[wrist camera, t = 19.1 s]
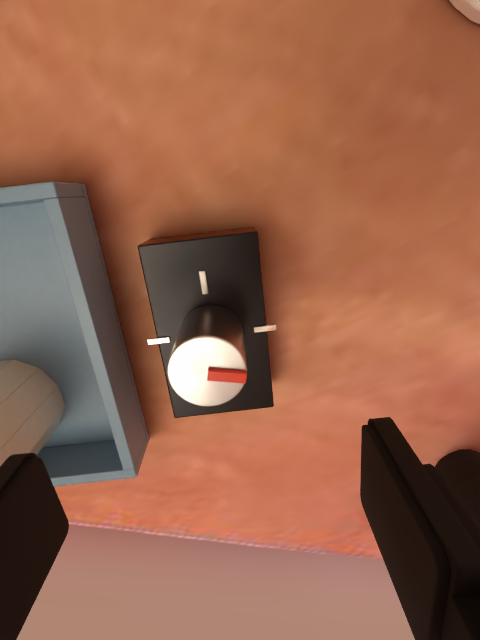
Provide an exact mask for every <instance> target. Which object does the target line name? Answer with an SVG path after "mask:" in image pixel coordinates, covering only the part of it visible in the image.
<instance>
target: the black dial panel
mask: <svg viewBox="0 0 480 640" xmlns="http://www.w3.org/2000/svg"><path fill="white" fill-rule="evenodd" d="M138 250H139V255H140V260H141V264H142V269H143V273H144V278H145V283H146V287H147V292H148V297H149V301H150V306H151V311H152V315H153V320H154V325H155V329H156V334H157V338H152V339H147V342H148V345H152V344H159V348H160V352H161V357H162V362H163V366H164V371H165V376H166V380H167V385H168V389H169V394H170V399H171V403H172V408H173V413H174V417H175V418H179V417H188V416H196V415H205V414H214V413H223V412H232V411H240V410H249V409H258V408H267V407H273V406H274V403H273V392H272V382H271V371H270V360H269V349H268V339H267V331H272V330H276V324H272V325H266V317H265V307H264V296H263V285H262V274H261V264H260V253H259V242H258V233H257V231H256V230H255V228H254V227H248V228H240V229H232V230H223V231H215V232H207V233H198V234H190V235H182V236H173V237H165V238H157V239H149V240H148V241H146V242H144V243H142V244H140V245H139V246H138ZM204 305H218V306H222V307H225V308H227V309H228V310H230V311H231V312H233V313H234V314H235V315H236V316H237V317H238V319H239V320H240V322H241V325H242V328H243V335H244V345H245V355H246V365H247V378H246V383H245V384H244V386H243V388H242V389H241V391H240V392H239V393H238V394H237V395H236V396H235V397H234V398H233V399H231V400H229V401H228V402H226V403H223V404H220V405H216V406H199V405H194V404H192V403H189V402H187V401H185V400H184V399H182V398H181V397H180V396H179V395H177V393H176V392H175V391H174V390H173V388H172V387H171V385H170V383H169V380H168V376H167V364H168V360H169V357H170V354H171V352H172V349H173V346H174V344H175V341H176V338H177V335H178V333H179V330H180V327H181V325H182V322H183V320H184V319H185V317H186V316H187V315H188V314H189V313H190V312H191V311H193V310H194V309H196V308H198V307H201V306H204Z"/></svg>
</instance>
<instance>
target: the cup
mask: <svg viewBox="0 0 480 640" xmlns="http://www.w3.org/2000/svg"><path fill="white" fill-rule="evenodd" d="M64 409H65V403H64V400H63V397H62V394H61V391H60V388H59V386H58V384H57V383H56V382H54V381H53V380H52V379H51V378H50V377H49V376H48V375H47V374H46V373H45V372H44V371H43V370H41V369H40V368H38V367H36V366H33V365H30V364H27V363H24V362H21V361H18V360H14V359H12V360H4V361H0V466H1V465H2V464H3V463H4V461H5V460H6V459H7V458H8V457H9V456H11V455H13V454H23V453H35V454H36V455H37V454H38V453H39V452H40V450H41V449H42V448H43V446H44V445H45V443H46V442H47V441H48V439H49V438H50V437H51V435H52V434H53V433H54V431H55V430H56V429H57V427H58V426H59V425H60V422H61V419H62V416H63V413H64Z"/></svg>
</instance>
